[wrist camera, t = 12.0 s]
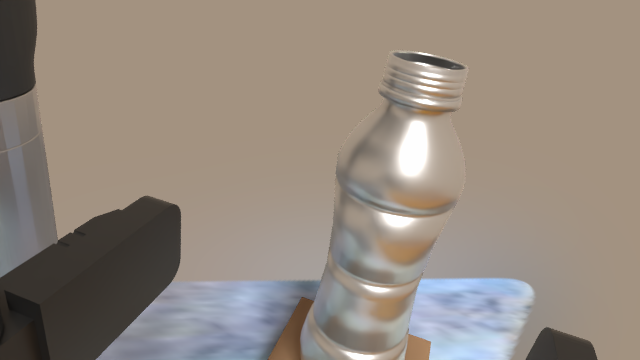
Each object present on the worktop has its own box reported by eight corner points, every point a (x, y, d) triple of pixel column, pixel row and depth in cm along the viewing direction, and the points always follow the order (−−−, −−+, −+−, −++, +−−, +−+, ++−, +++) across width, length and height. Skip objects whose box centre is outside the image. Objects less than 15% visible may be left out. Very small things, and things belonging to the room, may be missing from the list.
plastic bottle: (273, 365, 28) (324, 43, 19) (342, 318, 33) (409, 42, 24) (349, 442, 24) (456, 86, 15) (415, 376, 29) (526, 75, 20)
